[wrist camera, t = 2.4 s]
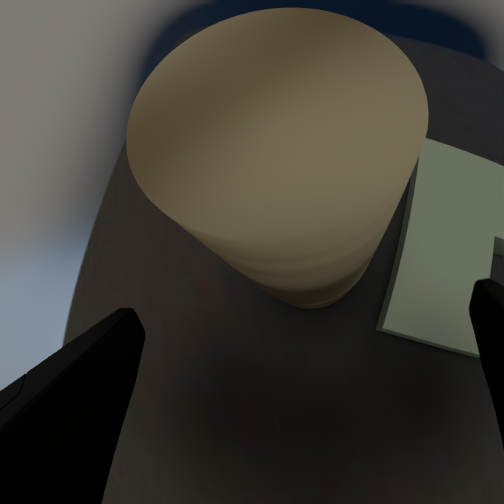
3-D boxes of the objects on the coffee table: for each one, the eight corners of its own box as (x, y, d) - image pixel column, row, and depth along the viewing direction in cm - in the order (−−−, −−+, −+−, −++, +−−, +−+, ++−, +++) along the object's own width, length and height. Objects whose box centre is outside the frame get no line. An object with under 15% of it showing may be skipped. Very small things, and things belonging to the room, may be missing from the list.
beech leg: (379, 264, 19) (475, 87, 4) (313, 335, 18) (268, 325, 4) (310, 203, 21) (264, -11, 6) (246, 269, 20) (87, 128, 6)
